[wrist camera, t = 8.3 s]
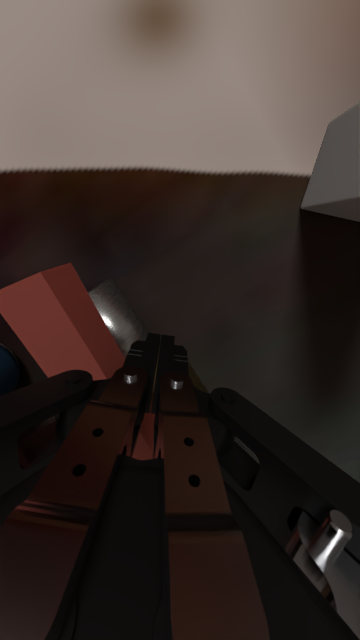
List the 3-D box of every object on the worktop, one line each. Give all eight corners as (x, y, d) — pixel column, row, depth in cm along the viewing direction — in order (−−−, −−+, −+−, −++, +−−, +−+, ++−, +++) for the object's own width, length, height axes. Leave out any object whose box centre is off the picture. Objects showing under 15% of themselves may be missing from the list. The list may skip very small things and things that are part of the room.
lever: (209, 483, 18) (216, 527, 15) (157, 499, 18) (155, 544, 15) (88, 254, 11) (63, 261, 9) (12, 287, 12) (-34, 304, 9)
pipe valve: (240, 441, 29) (271, 533, 20) (192, 462, 30) (200, 558, 21) (125, 267, 20) (91, 295, 12) (64, 305, 22) (-9, 357, 13)
